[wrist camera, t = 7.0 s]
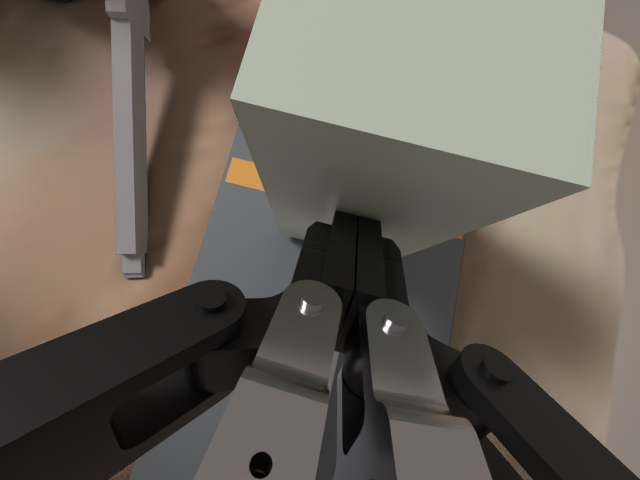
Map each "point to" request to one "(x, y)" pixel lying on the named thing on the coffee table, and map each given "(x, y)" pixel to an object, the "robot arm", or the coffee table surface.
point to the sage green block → (419, 110)
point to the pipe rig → (273, 278)
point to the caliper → (130, 130)
